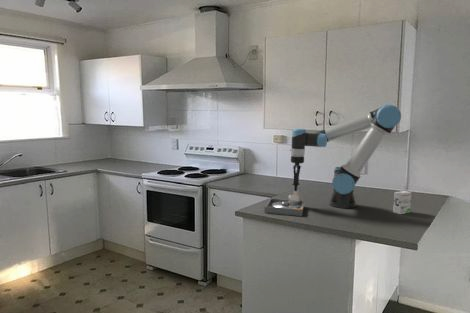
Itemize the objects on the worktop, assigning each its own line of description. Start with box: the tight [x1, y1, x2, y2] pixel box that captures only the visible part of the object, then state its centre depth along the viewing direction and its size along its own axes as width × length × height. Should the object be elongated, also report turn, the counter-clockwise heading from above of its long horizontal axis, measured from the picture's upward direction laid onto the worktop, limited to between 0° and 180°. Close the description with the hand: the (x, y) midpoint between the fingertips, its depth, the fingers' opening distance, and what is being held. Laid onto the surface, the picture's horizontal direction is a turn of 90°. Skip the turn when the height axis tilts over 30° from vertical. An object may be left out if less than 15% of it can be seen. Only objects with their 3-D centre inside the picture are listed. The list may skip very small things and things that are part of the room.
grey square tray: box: [264, 197, 305, 217], centre depth 209 cm, size 20×20×4 cm
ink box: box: [392, 190, 413, 215], centre depth 208 cm, size 9×5×12 cm, turn 116°
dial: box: [272, 193, 300, 209], centre depth 209 cm, size 16×15×7 cm
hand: (295, 195), depth 216 cm, fingers closed
